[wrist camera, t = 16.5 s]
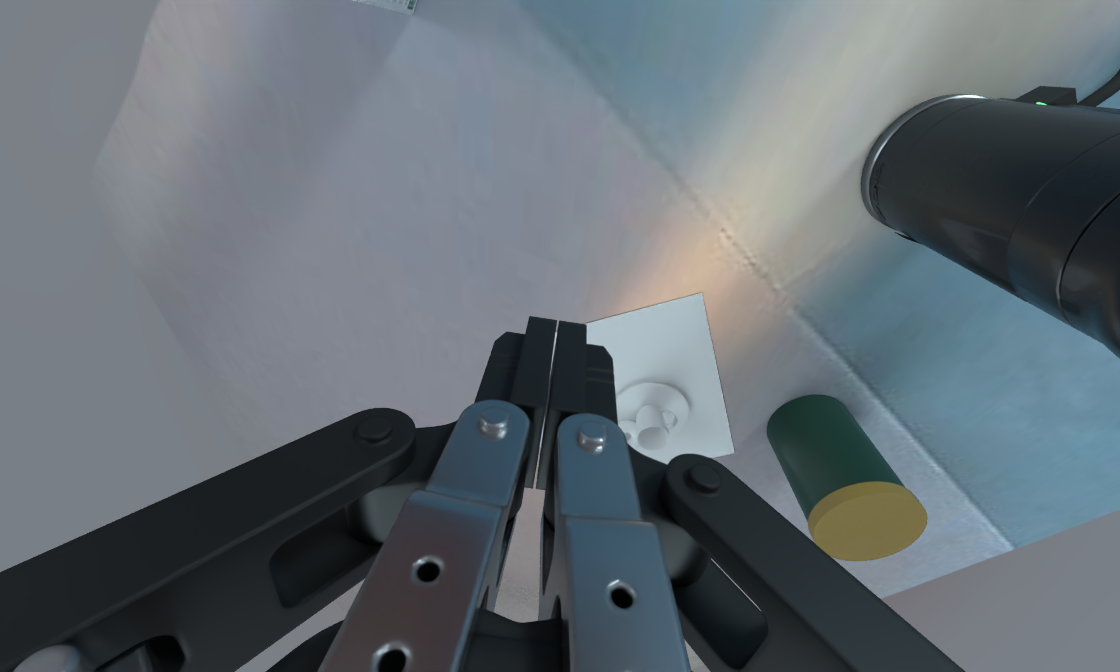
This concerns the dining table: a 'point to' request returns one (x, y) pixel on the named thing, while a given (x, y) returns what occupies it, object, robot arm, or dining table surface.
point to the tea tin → (843, 481)
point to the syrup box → (394, 5)
